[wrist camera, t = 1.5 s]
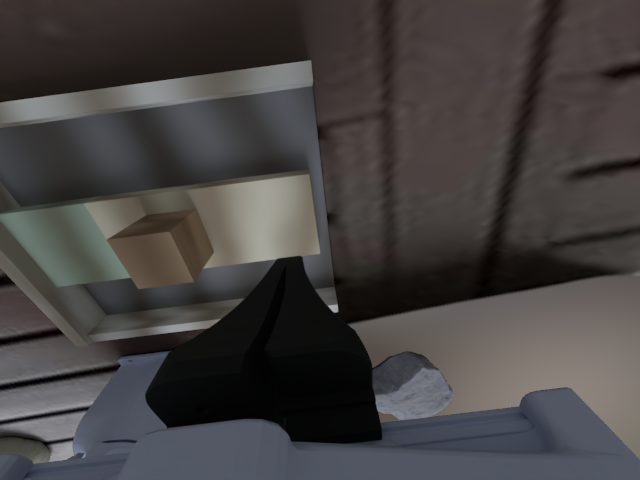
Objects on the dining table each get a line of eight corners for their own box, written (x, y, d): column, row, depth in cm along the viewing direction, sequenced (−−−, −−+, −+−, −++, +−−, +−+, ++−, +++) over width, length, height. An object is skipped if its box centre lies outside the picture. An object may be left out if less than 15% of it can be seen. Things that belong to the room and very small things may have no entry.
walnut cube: (168, 258, 20) (138, 289, 16) (145, 215, 18) (106, 239, 14) (214, 252, 20) (194, 281, 16) (196, 208, 18) (169, 231, 14)
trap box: (104, 320, 26) (77, 347, 23) (-60, 119, 16) (-144, 120, 13) (335, 291, 25) (338, 314, 22) (310, 69, 16) (311, 58, 13)
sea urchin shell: (-45, 459, 35) (-74, 506, 29) (21, 408, 39) (7, 441, 33) (15, 478, 39) (-1, 523, 33) (69, 430, 43) (64, 463, 38)
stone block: (404, 333, 32) (353, 378, 34) (425, 362, 28) (367, 413, 29) (443, 365, 37) (398, 404, 38) (467, 394, 33) (415, 436, 34)
